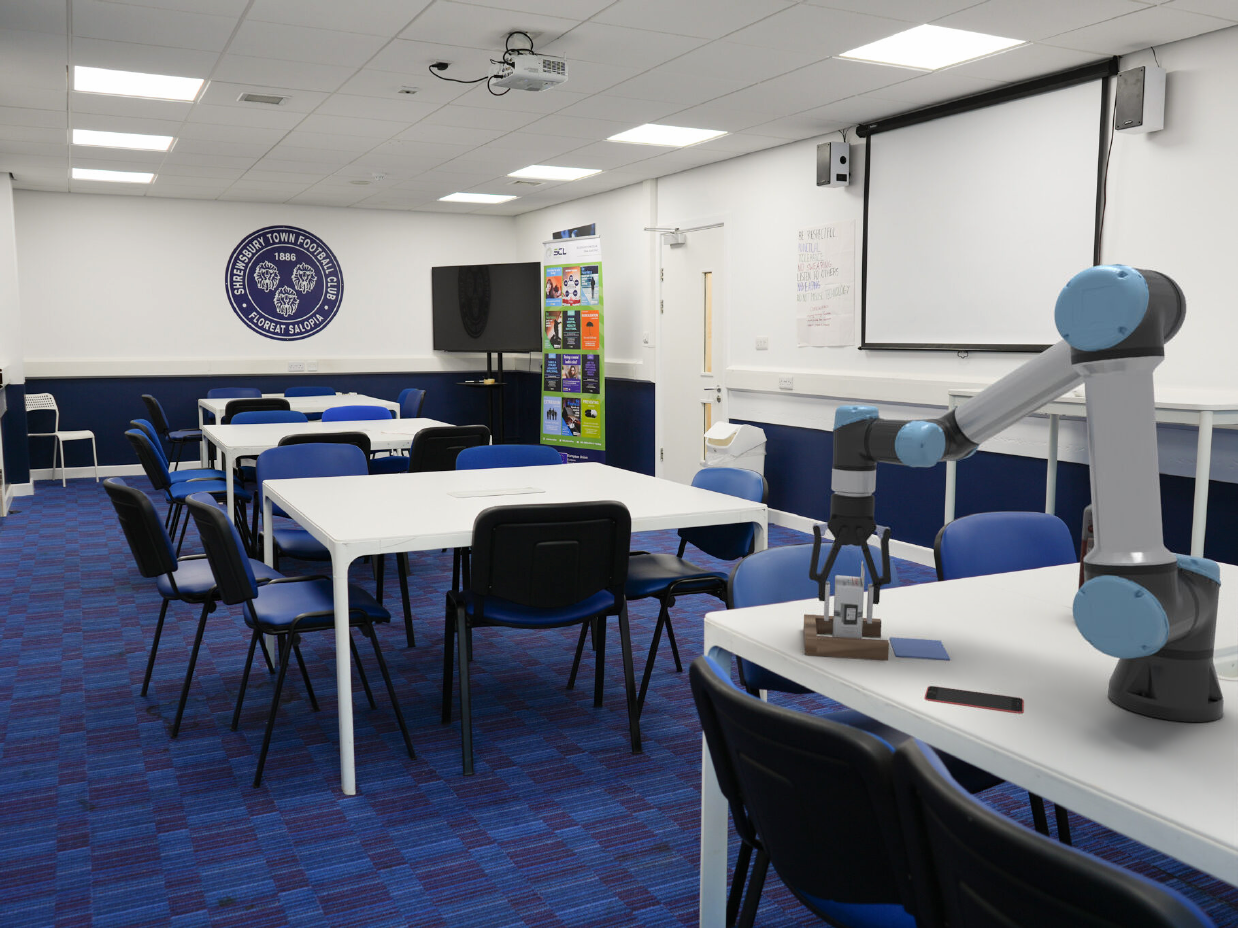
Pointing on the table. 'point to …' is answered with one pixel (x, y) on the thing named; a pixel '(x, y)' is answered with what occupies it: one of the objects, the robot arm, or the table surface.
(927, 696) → the smartphone
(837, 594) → the ink box
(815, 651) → the bay
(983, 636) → the table surface
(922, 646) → the pad
